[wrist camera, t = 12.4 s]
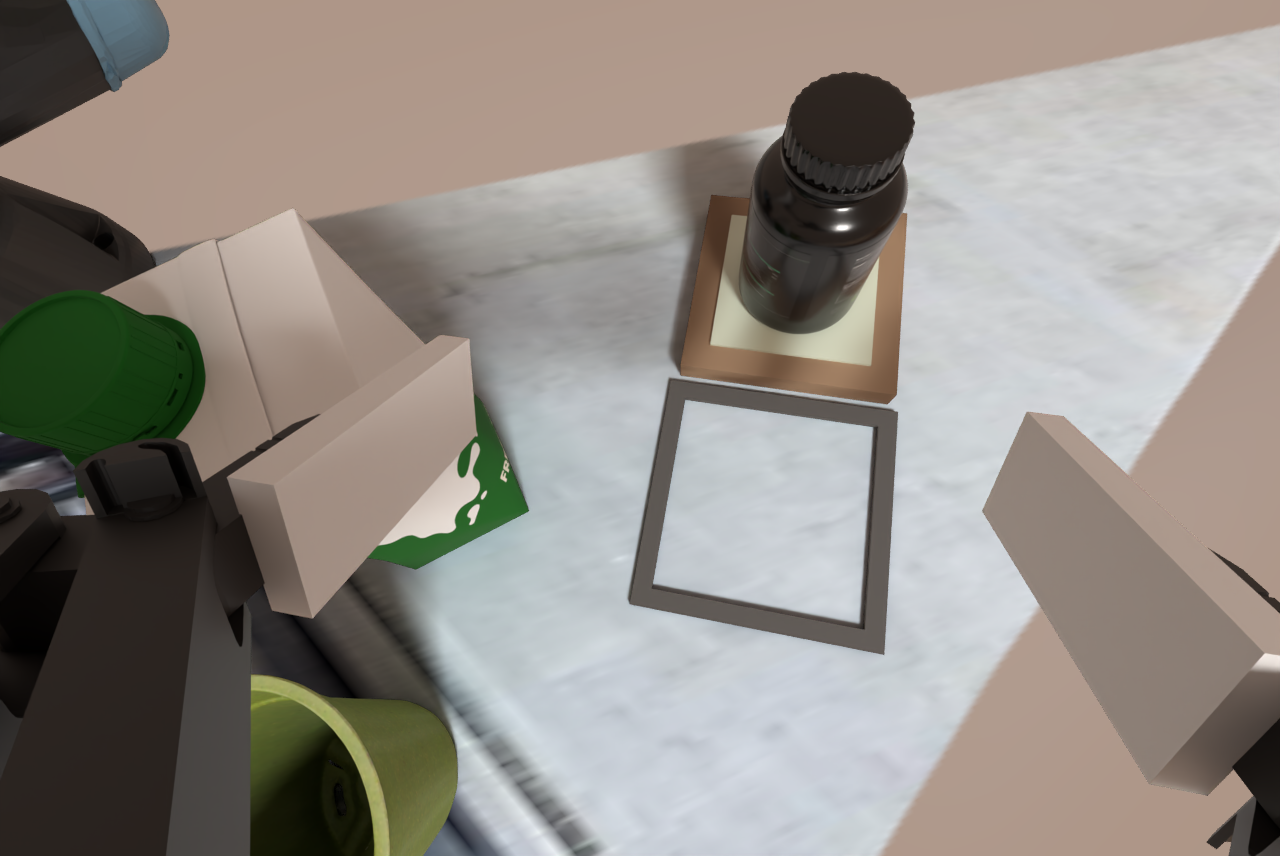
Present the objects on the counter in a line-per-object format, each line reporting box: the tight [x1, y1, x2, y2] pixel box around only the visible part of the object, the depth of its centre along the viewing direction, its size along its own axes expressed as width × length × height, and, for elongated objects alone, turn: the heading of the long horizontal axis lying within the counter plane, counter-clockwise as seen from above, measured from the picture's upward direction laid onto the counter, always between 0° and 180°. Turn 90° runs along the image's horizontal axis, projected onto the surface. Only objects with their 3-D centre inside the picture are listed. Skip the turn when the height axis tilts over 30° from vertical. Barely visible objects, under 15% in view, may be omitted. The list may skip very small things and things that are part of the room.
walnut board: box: [680, 195, 907, 404], centre depth 34 cm, size 12×12×2 cm
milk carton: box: [0, 208, 529, 569], centre depth 23 cm, size 9×9×20 cm
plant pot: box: [250, 674, 458, 856], centre depth 23 cm, size 12×12×11 cm
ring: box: [630, 380, 898, 655], centre depth 31 cm, size 13×13×1 cm
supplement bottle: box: [739, 72, 915, 334], centre depth 27 cm, size 7×7×12 cm
